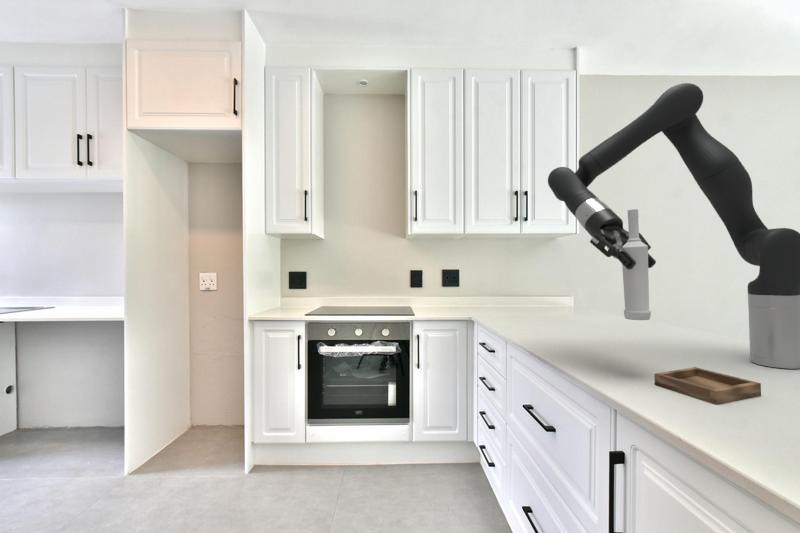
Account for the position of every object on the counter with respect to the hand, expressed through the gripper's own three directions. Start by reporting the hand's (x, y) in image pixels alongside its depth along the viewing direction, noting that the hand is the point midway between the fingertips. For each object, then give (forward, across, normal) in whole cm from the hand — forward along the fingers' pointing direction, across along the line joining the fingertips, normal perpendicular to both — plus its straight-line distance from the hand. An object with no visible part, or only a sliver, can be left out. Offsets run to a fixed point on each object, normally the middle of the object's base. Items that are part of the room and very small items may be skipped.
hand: (642, 265), depth 81 cm
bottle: (+7, 0, +10) cm, 13 cm away
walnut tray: (+25, +5, +12) cm, 28 cm away
